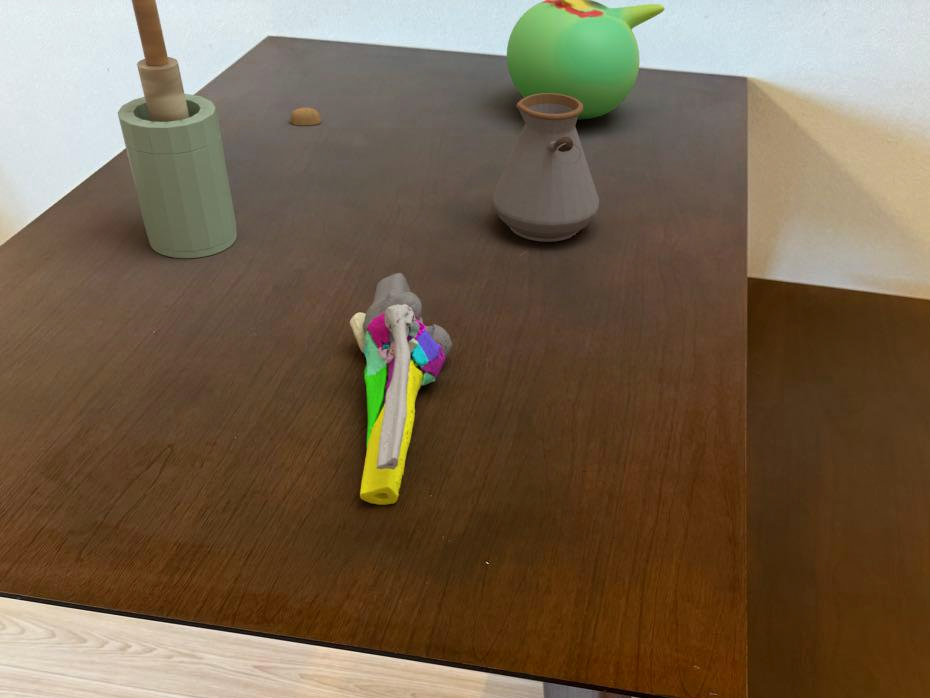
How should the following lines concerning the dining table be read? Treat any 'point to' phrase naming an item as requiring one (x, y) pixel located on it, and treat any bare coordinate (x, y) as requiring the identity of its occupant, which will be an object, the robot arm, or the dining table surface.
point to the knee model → (394, 380)
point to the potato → (305, 116)
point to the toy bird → (578, 52)
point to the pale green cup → (180, 179)
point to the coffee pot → (547, 173)
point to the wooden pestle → (158, 68)
